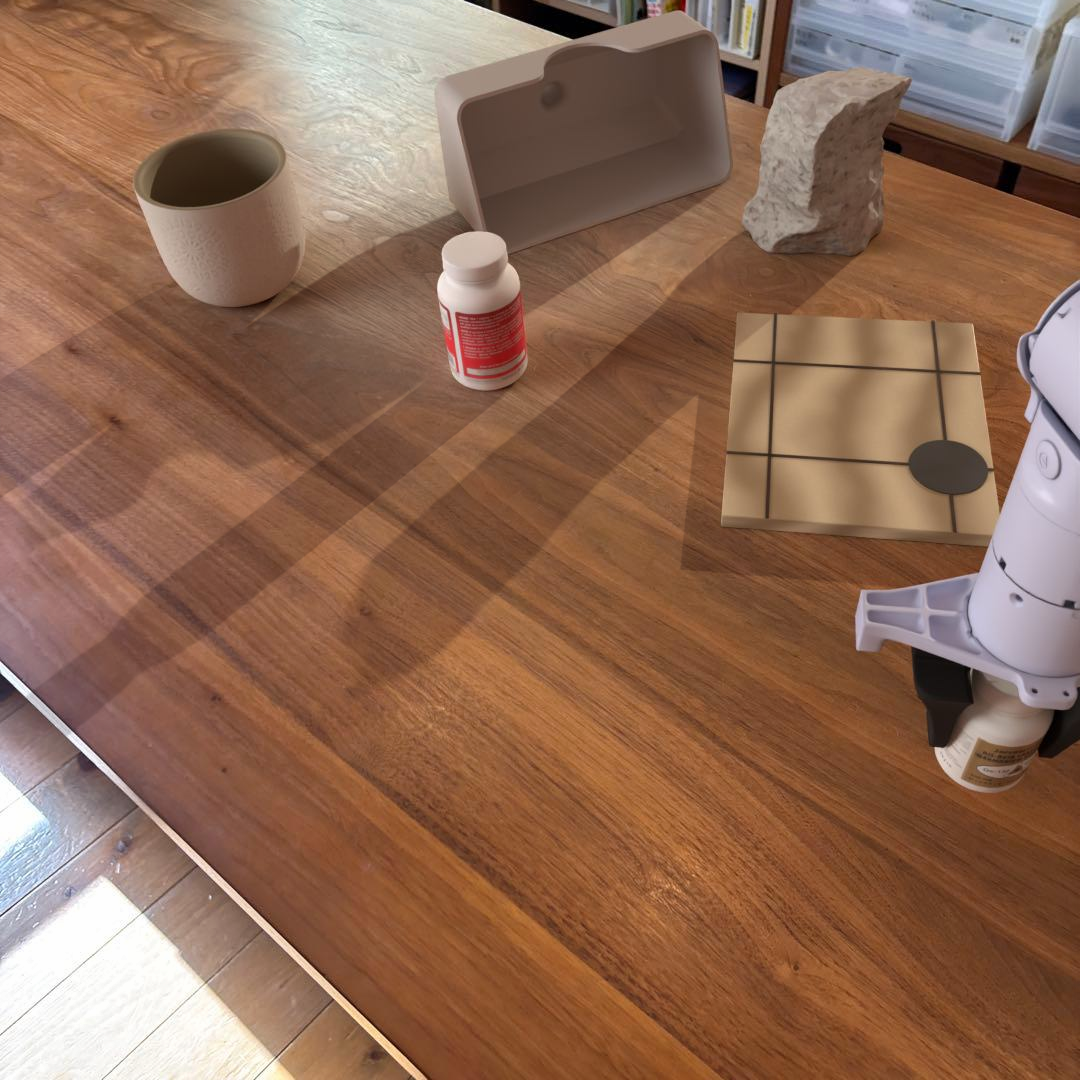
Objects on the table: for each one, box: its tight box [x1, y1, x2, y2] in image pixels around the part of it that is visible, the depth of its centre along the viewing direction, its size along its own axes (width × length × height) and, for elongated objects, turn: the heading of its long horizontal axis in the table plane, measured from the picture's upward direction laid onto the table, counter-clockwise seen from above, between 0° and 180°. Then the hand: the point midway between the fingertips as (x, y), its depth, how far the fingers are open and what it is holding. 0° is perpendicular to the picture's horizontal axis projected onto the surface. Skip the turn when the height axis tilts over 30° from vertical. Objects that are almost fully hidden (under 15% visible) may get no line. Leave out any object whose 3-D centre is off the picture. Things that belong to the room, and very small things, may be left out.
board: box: [720, 312, 1001, 548], centre depth 80 cm, size 18×22×1 cm
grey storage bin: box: [434, 10, 734, 255], centre depth 101 cm, size 25×16×12 cm, turn 115°
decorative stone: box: [741, 66, 913, 257], centre depth 91 cm, size 10×9×15 cm
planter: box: [132, 128, 306, 308], centre depth 94 cm, size 12×12×11 cm
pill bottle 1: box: [436, 231, 528, 392], centre depth 84 cm, size 6×6×11 cm
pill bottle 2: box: [934, 668, 1054, 794], centre depth 52 cm, size 4×4×8 cm
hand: (987, 734), depth 54 cm, fingers closed on pill bottle 2, 4 cm apart
